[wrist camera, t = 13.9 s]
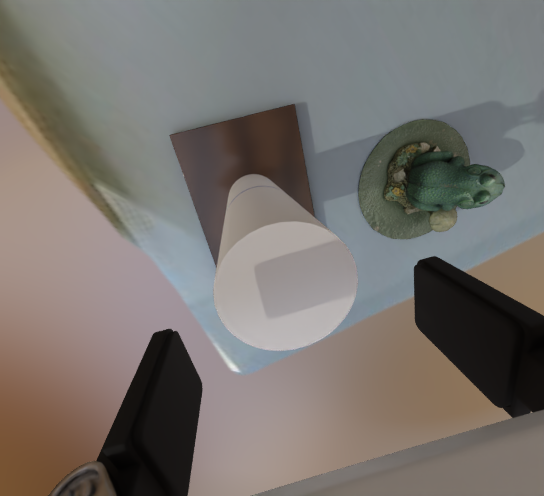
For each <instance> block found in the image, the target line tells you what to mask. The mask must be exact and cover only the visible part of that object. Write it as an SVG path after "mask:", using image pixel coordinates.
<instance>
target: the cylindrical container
mask: <svg viewBox="0 0 544 496" xmlns="http://www.w3.org/2000/svg"><path fill="white" fill-rule="evenodd" d="M357 285H358V276H357V267H356V264H355V262H354V259H353V256H352V254H351V253H350V251H349V249H348V248H347V246H346V245H345V244H344V243H343V242H342V241H341V240H340V239H339V238H338V237H337V236H336V235H335V234H334V233H333V232H331V231H330V230H329V229H328V228H327V227H325V226H324V225H323V224H322V223H321V222H319V221H318V220H317V219H316V218H315V217H314V216H312V215H311V214H310V213H309V212H308V211H306V210H305V209H304V208H303V207H302V206H300V205H299V204H298V203H297V202H296V201H295V200H293V199H292V198H291V197H290V196H289V195H287V194H286V193H285V192H284V191H283V190H282V189H280V188H279V187H278V186H277V185H276V184H274V183H273V182H272V181H271V180H270V179H268V178H267V177H264V176H262V175H258V174H250V175H245V176H243V177H241V178H240V179H238V180H237V181H236V182H235V183H234V184H233V186H232V187H231V189H230V192H229V196H228V202H227V208H226V214H225V220H224V226H223V232H222V238H221V244H220V250H219V257H218V263H217V269H216V275H215V282H214V289H213V294H214V303H215V307H216V310H217V313H218V315H219V318H220V319H221V321H222V322H223V324H224V325H225V327H226V328H227V329H228V330H229V331H230V332H231V333H232V334H233V335H234V336H235V337H237V338H238V339H240V340H241V341H243V342H244V343H246V344H249V345H251V346H254V347H256V348H261V349H265V350H274V351H284V350H294V349H297V348H301V347H305V346H308V345H310V344H312V343H315V342H317V341H319V340H321V339H322V338H324V337H325V336H327V335H328V334H330V333H331V332H332V331H333V330H334V329H335V328H336V327H338V326H339V324H340V323H341V322H342V321H343V320H344V318H345V317H346V316H347V314H348V312H349V310H350V309H351V307H352V305H353V302H354V299H355V296H356V293H357Z"/></svg>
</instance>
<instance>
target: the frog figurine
mask: <svg viewBox="0 0 544 496" xmlns="http://www.w3.org/2000/svg"><path fill="white" fill-rule="evenodd" d="M504 187H505V183H504V180H503V178H502V176H501V174H500V173H499V172H498V171H496V170H494V169H492V168H490V167H488V166H483V165H478V164H473V165H470V159H469V153H468V149H467V147H466V144H465V142H464V141H463V139H462V137H461V136H460V135H459V133H458V132H457V131H456V130H455V129H453V128H452V127H450V126H449V125H447V124H446V123H443V122H440V121H436V120H423V119H422V120H417V121H412V122H409V123H407V124H405V125H402V126H400V127H398V128H397V129H395V130H393V131H392V132H390V133H389V134H387V135H386V136H385V137H384V138H383V139H382V140H381V141H380V142H379V144H378V145H377V146H376V147H375V149H374V150H373V151H372V153H371V154H370V156H369V158H368V159H367V161H366V163H365V165H364V168H363V171H362V174H361V178H360V183H359V203H360V207H361V210H362V213H363V215H364V217H365V219H366V221H367V222H368V223H369V225H370V226H371V227H372V228H373V229H374V230H375V231H377V232H379V233H381V234H382V235H384V236H386V237H389V238H393V239H411V238H415V237H418V236H421V235H424V234H426V233H429V232H430V231H432V230H434V231H436V232H443V231H447V230H449V229H450V228H452V227H453V226H454V225H455V223H456V221H457V212H456V210H455V209H456V207H457V206H458V207H460V208H462V209H471V208H476V207H481V206H484V205H486V204H489V203H490V202H492V201H493V200H494V199H495V198H497V197H498V196H500V195H501V194H502V192H503V189H504Z"/></svg>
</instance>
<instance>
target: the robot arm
mask: <svg viewBox="0 0 544 496" xmlns="http://www.w3.org/2000/svg"><path fill="white" fill-rule="evenodd" d="M414 297H415V323H416V325H417V327H418V328H419V330H420V331H421V332H422V333H423V334H424V335H425V336H426V337H427V338H428V339H429V340H430V341H431V342H432V343H433V344H434V345H435V346H436V347H437V348H438V349H439V350H440V351H441V352H442V353H443V354H444V355H445V356H446V357H447V358H448V359H449V360H450V361H451V362H452V363H453V364H454V365H455V366H456V367H457V368H458V369H459V370H460V371H461V372H462V373H463V374H464V375H465V376H466V377H467V378H468V379H469V380H470V381H471V382H472V383H473V384H474V385H475V386H476V387H477V388H478V389H479V390H480V391H481V392H482V393H483V394H484V395H485V396H486V397H487V398H488V399H489V400H490V401H491V402H492V403H493V404H494V405H495V406H497V407H499V408H503V409H504V410H505V411H506V412H507V413H508V414H509V415H510V416H511V417H512V418H511V419H508V420H505V421H501V422H498V423H495V424H491V425H487V426H484V427H480V428H477V429H474V430H470V431H467V432H463V433H460V434H456V435H453V436H449V437H446V438H442V439H439V440H436V441H432V442H429V443H426V444H422V445H419V446H415V447H412V448H408V449H405V450H402V451H398V452H395V453H392V454H388V455H385V456H382V457H378V458H375V459H371V460H368V461H365V462H361V463H358V464H355V465H351V466H348V467H345V468H341V469H338V470H334V471H331V472H328V473H324V474H321V475H318V476H314V477H311V478H308V479H304V480H301V481H298V482H295V483H291V484H288V485H285V486H281V487H278V488H275V489H272V490H268V491H265V492H262V493H258V494H255V495H252V496H544V316H543V315H541V314H540V313H538V312H536V311H534V310H532V309H530V308H528V307H527V306H525V305H523V304H521V303H520V302H518V301H516V300H514V299H512V298H511V297H509V296H507V295H505V294H503V293H501V292H500V291H498V290H496V289H494V288H492V287H491V286H489V285H487V284H485V283H483V282H482V281H480V280H478V279H476V278H474V277H472V276H471V275H468V274H467V273H465V272H463V271H462V270H460V269H458V268H456V267H454V266H453V265H451V264H449V263H447V262H445V261H443V260H442V259H440V258H438V257H435V256H433V257H429V258H426V259H422V260H419V261H418V263H417V265H415V267H414ZM201 397H202V382H201V379H200V377H199V375H198V373H197V371H196V369H195V367H194V365H193V363H192V361H191V358H190V356H189V354H188V352H187V350H186V348H185V346H184V344H183V342H182V340H181V338H180V335H179V333H178V332H177V331H174V332H173V330H172V329H166V330H163V331H159V332H155V333H154V334H153V336H152V338H151V340H150V342H149V345H148V347H147V349H146V351H145V353H144V356H143V358H142V360H141V363H140V365H139V367H138V369H137V372H136V374H135V376H134V378H133V380H132V382H131V385H130V387H129V389H128V391H127V393H126V396H125V398H124V400H123V402H122V405H121V407H120V409H119V412H118V414H117V416H116V418H115V420H114V423H113V425H112V427H111V429H110V432H109V434H108V436H107V438H106V440H105V443H104V445H103V447H102V449H101V452H100V454H99V456H98V458H97V461H92V462H87V463H85V464H83V465H81V466H79V467H77V468H76V469H74V470H73V471H72V472H70V473H69V474H67V475H66V476H65V477H64V478H63V479H62V480H61V481H60V482H59V483H58V484H57V485H56V487H55V488H54V489H53V490H52V491H51V493H50V494H49V495H48V496H187V495H188V489H189V482H190V475H191V468H192V461H193V453H194V447H195V439H196V432H197V425H198V418H199V411H200V404H201ZM531 411H532V412H533V413H530V412H531ZM529 413H530V414H529Z"/></svg>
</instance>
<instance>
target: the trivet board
mask: <svg viewBox="0 0 544 496" xmlns="http://www.w3.org/2000/svg"><path fill="white" fill-rule="evenodd" d="M170 138H171V141H172V144H173V147H174V150H175V152H176V155H177V158H178V161H179V164H180V166H181V169H182V172H183V175H184V178H185V181H186V183H187V186H188V189H189V192H190V195H191V197H192V200H193V203H194V206H195V209H196V212H197V214H198V217H199V220H200V223H201V226H202V228H203V231H204V234H205V237H206V240H207V242H208V245H209V248H210V251H211V254H212V257H213V259H214V262H215V265H216V268H217V263H218V257H219V250H220V244H221V238H222V232H223V226H224V220H225V214H226V208H227V202H228V196H229V192H230V189H231V187H232V186H233V184H234V183H235V182H236V181H237V180H238V179H240V178H241V177H243V176H245V175H250V174H258V175H262V176H264V177H267V178H268V179H270V180H271V181H272V182H273V183H274V184H276V185H277V186H278V187H279V188H280V189H282V190H283V191H284V192H285V193H286V194H287V195H289V196H290V197H291V198H292V199H293V200H295V201H296V202H297V203H298V204H299V205H300V206H302V207H303V208H304V209H305V210H306V211H308V212H309V213H310V214H311V215H312V216H314V211H313V206H312V200H311V194H310V189H309V183H308V177H307V172H306V166H305V161H304V155H303V149H302V144H301V138H300V132H299V127H298V121H297V115H296V110H295V104H292V105H288V106H284V107H280V108H276V109H272V110H268V111H264V112H260V113H256V114H252V115H248V116H244V117H240V118H236V119H232V120H228V121H224V122H220V123H216V124H212V125H208V126H204V127H200V128H196V129H192V130H188V131H184V132H180V133H176V134H172V135H170Z"/></svg>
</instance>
